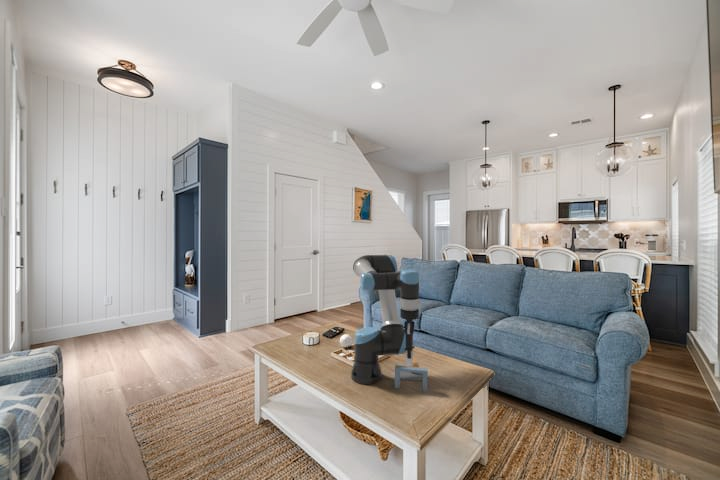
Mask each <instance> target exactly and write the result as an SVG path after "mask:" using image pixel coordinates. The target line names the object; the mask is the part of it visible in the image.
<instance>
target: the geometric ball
mask: <svg viewBox="0 0 720 480" xmlns="http://www.w3.org/2000/svg"><path fill="white" fill-rule="evenodd" d="M339 344H340V346H341V347H343V348H346V347H347V348H349V347H351V346H352V344H353V338H352V336H351V335H350V334H347V333H346V334H343V335H341V336H340V338H339ZM350 345H351V346H350ZM348 346H349V347H348Z"/></svg>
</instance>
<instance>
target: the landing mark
mask: <svg viewBox="0 0 720 480" xmlns="http://www.w3.org/2000/svg"><path fill="white" fill-rule="evenodd" d="M400 380H406V381H407V380H408V381H417V382H423V373H414V372H404V371H400Z"/></svg>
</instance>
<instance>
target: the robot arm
mask: <svg viewBox="0 0 720 480" xmlns="http://www.w3.org/2000/svg"><path fill="white" fill-rule="evenodd" d="M397 262H398V261H396V257H394V256H393V255H392V254H373V255H372V254H367V255H366V254H365V255H362V256H359V257H358V258H356V260H355V261H354V262H353V265H352V270H353V273H354V274H355V275H356V276H357V277H359V278H360V288H361V290H362V291H370V292H371V291H378V296H379V304H380V310H381V311H380V312H381V320H382V324H381V326H380V327H379V328H380V330H379V329H378V327H374V326H373V327H372V326H365V327H361V328H360V329H359V328H358V330H356V332H355V334H354V341H353V343H354V362H353V364H352V367H351V371H350V378H351V380H352V381H354V382H355V383H357V384H361V385H373V384H376V383H378V382H380V381H381V380H382V379H383V371H382V369H381V368H382V367H381V365H380V363H379V356H393V355H394V356H395V355H396V356H398V355H404V354H405V366H413V361H414V349H415V346H414V332H415V325H416V324H415V323H416V322H415V320H418V319H419V317H420V310H419V308H420V305H419V304H421V300H420V275H419V274H420V273H419V271H417V270H413V269H405V270H398V263H397ZM395 290H396V291H397V290H398V291H399V290H400V292H399V293H400V297H399V300H400V303H399V307H400V309H398V304H397V297H396V291H395ZM399 310H400V313H399ZM399 314H400V315H399ZM399 316H400V317H399ZM400 318H401V319H403V320H404V322H403V324H402V323H401V322H400Z"/></svg>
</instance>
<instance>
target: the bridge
mask: <svg viewBox="0 0 720 480" xmlns="http://www.w3.org/2000/svg"><path fill="white" fill-rule="evenodd" d="M428 370H429V369H428V367H420V366H419V367H409V366H407V365H397V364H395V365H394V388H395V389H400V386H401V379H400V371H404V372H414V373H423V381H422V392H428Z"/></svg>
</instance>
